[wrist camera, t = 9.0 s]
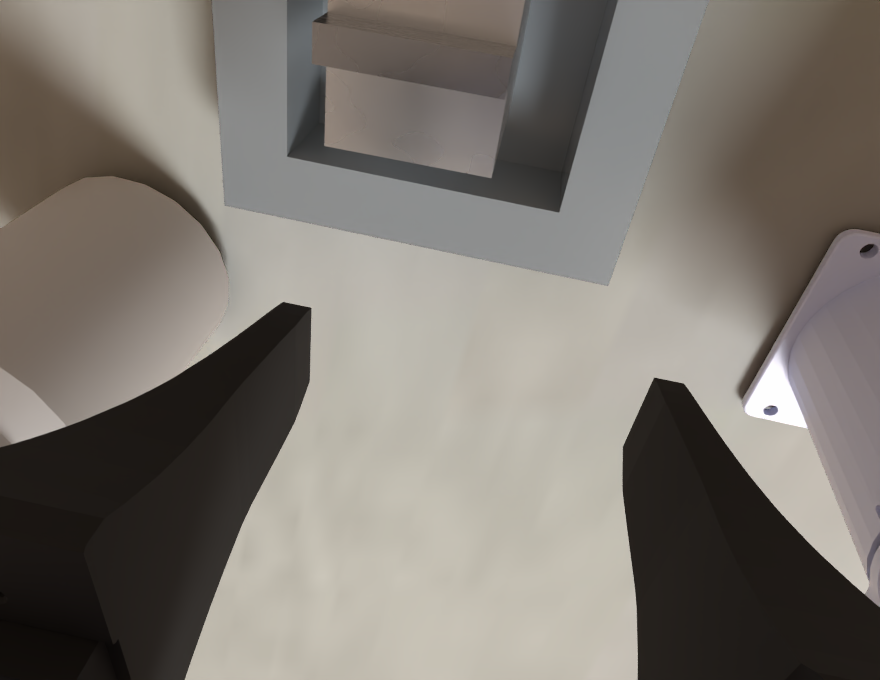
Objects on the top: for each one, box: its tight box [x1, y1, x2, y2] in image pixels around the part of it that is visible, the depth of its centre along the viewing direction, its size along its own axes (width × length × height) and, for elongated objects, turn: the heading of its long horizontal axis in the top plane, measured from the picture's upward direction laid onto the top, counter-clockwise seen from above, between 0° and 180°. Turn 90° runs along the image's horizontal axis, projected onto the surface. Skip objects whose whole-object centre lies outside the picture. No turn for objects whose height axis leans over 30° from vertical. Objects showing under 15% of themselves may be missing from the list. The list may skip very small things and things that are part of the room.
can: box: [0, 176, 229, 447], centre depth 22 cm, size 8×8×12 cm
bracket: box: [312, 0, 531, 178], centre depth 16 cm, size 4×5×7 cm
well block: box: [212, 0, 709, 286], centre depth 18 cm, size 12×12×4 cm
